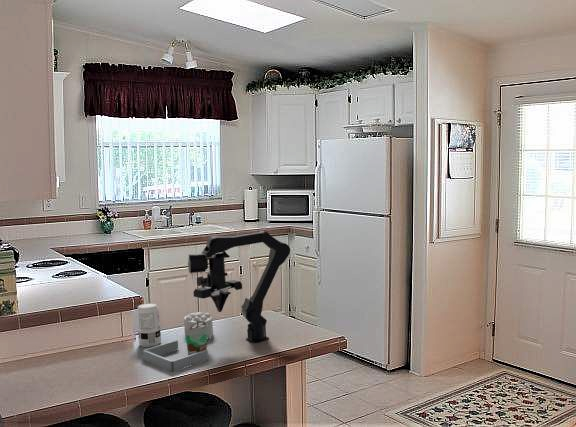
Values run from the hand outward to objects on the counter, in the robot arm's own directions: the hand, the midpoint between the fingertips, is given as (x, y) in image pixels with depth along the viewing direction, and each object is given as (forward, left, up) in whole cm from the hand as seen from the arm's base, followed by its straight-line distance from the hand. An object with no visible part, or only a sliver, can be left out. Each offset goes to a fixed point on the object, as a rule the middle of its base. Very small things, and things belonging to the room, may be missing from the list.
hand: (219, 311), depth 221 cm
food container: (+10, 0, -13) cm, 16 cm away
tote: (+21, 0, -13) cm, 24 cm away
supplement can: (+17, -23, -13) cm, 31 cm away
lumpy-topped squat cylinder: (-1, -16, -13) cm, 21 cm away
